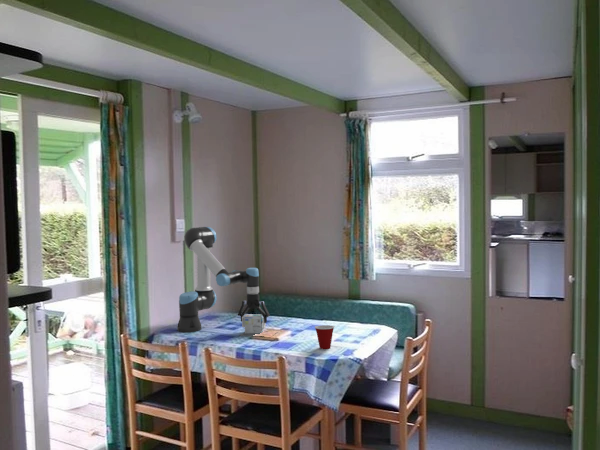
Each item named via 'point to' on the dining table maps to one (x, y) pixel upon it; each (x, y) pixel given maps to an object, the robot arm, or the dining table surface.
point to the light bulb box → (253, 323)
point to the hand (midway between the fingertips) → (253, 327)
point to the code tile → (246, 334)
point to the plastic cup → (324, 336)
